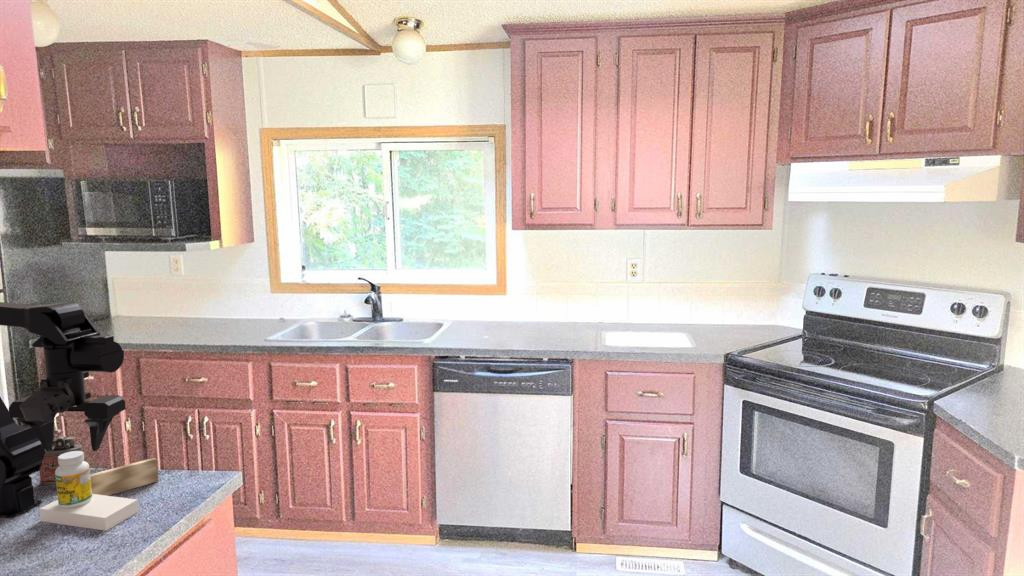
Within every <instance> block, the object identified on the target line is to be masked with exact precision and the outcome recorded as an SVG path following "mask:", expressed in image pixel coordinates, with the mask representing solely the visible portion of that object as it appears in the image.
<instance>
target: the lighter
mask: <svg viewBox="0 0 1024 576" xmlns="http://www.w3.org/2000/svg"><path fill="white" fill-rule="evenodd" d="M75 441H76V438H75V436H69V437H66V436H64V435H59V436H58V437H57V438H54V437H53V444H52V449H50V450H48V451H47V450H45V454H44V459H43V461H42V465H41V469H40V471H38V472H39V487H41V488H42V487H47V488H48V487H56V478H55V471H56V469H57V468H58V467H59V466H60V465H59V464H58V456H60V455H61V454H64V453H67V452H71V451H82V450H83V445H82V444H75Z"/></svg>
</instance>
